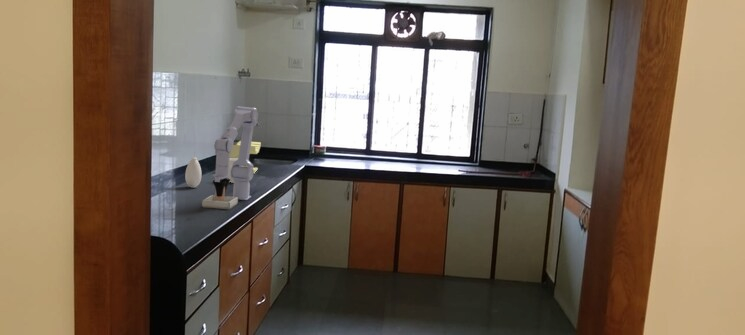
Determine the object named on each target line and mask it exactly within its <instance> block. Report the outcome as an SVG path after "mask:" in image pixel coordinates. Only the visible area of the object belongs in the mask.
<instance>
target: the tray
mask: <svg viewBox="0 0 745 335" xmlns="http://www.w3.org/2000/svg"><path fill="white" fill-rule="evenodd" d="M215 195H216V194H211V195H209V196H207V197H206V198H204V199H202V202H201V207H202V208H210V209H219V210H220V209H221V210H232V208H233V207H235V206H236V205H238V204H239V199H238V197H232V196H228V195H225V200H221V201H220V200H215Z"/></svg>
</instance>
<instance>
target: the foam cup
mask: <svg viewBox="0 0 745 335" xmlns="http://www.w3.org/2000/svg"><path fill="white" fill-rule="evenodd" d="M236 160H238V158H230V159H229V178H227V179H230V182H231V183H230V182H229V183H230V184H234V180H233V178H232V177H231V175H230V171H231V168H232V165H233V162H235V161H236ZM242 167H243V166H242Z"/></svg>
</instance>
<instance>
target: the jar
mask: <svg viewBox="0 0 745 335" xmlns="http://www.w3.org/2000/svg"><path fill="white" fill-rule="evenodd" d="M214 195H215V200H220V201H221V200H225V196H226V192H225V186H224V190H223V195H222V197H218V196H217V194H216V193H215V194H214Z"/></svg>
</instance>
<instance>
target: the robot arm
mask: <svg viewBox="0 0 745 335" xmlns="http://www.w3.org/2000/svg"><path fill="white" fill-rule="evenodd" d="M233 116H234V117H233V119H232V122H231V124H230V126H227V127H226V128H225V129H224V132H223V133H222V135H221V136H220V138H216V139H215V142H214V144H213V145H214V151H215V152H214V154H215V155H216V157H215V173H213V174H212V177H214V180H213V181H212V183H213V185H214V189H215V195H216V194H217V196H218V197H222V195H223V190H224V186H225V193H226V192H227V188H228V185H229V184H230V179H228V178H229V159H230V152H231V150H232V148H233V145H235V143H234V141H235V140H236V138H237V137H238V134H239V133H238V132H239V129H240V128H241V126H242V131H241V137H240V138H241V139H240V141H241V144H240V151H239V157H238V160H236V161H235V162H233V165H232V168H231V171H230V175H231V177H232V178H233V180H234V183H233V189H232V196H231V197H238V200H241V201H247V200H249V199H250V198H252V195H250V190H251V189H250V188H251V184H250V181H251V180H253V177H254V174H255V173H254V171H253V167H254V164H253V163H252V161H250V155H251V154H250V148H251V142H253V141H252V140H253V134H254V129H255V128H254V127H256V126H257V124H258V119H259V112H258V109H257V108H256V107H248V106H239V105H237V106H236V107H235V108H234V112H233ZM242 166H247V167H242Z"/></svg>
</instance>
